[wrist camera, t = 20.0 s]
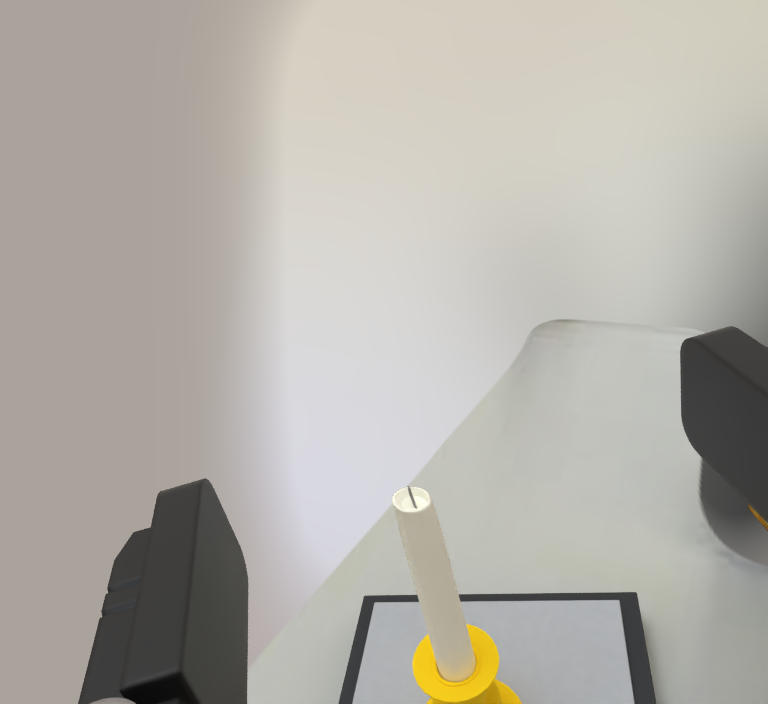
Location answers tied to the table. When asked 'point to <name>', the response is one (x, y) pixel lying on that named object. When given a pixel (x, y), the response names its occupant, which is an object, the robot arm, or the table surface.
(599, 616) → the kitchen scale
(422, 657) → the candle
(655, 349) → the table surface
